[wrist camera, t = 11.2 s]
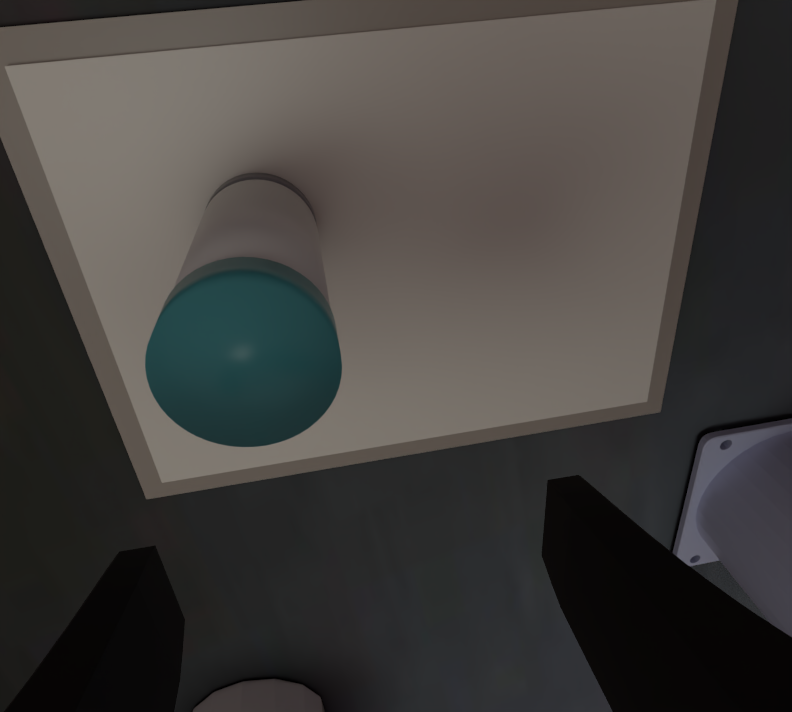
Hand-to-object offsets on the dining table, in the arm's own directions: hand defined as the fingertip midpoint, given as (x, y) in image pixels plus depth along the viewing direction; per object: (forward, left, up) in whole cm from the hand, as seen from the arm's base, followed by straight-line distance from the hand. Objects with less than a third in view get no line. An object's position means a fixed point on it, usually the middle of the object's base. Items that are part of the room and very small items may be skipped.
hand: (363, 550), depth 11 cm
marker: (+2, -3, -9) cm, 10 cm away
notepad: (-2, -1, -10) cm, 10 cm away
